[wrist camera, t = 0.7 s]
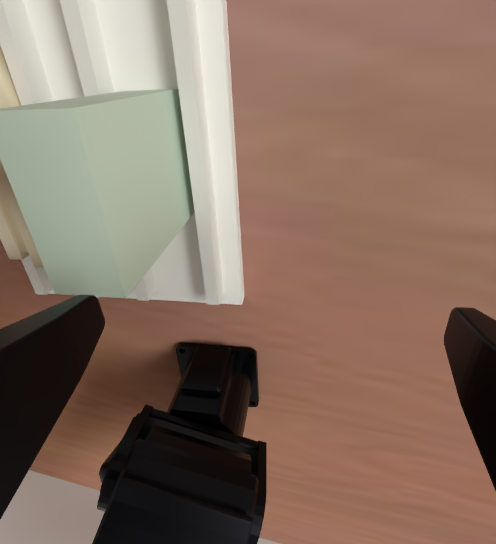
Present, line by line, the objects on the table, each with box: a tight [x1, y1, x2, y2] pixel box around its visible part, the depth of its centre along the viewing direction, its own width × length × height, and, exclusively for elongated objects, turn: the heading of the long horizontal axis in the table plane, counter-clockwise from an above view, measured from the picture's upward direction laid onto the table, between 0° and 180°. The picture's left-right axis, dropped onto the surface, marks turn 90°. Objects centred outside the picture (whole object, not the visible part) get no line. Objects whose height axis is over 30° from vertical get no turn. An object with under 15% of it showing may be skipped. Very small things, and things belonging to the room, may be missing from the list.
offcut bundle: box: [0, 46, 44, 268], centre depth 19 cm, size 11×3×4 cm, turn 3°
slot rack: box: [0, 0, 244, 305], centre depth 19 cm, size 20×15×2 cm
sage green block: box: [0, 89, 195, 298], centre depth 15 cm, size 6×3×9 cm, turn 3°
